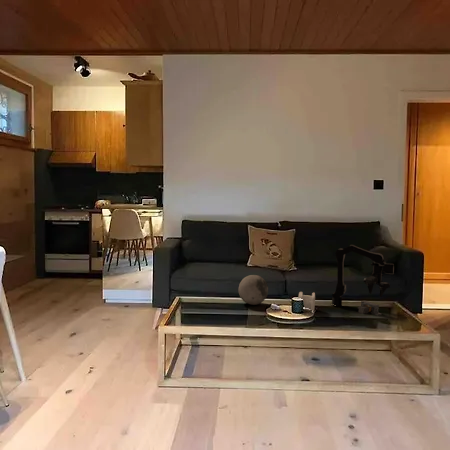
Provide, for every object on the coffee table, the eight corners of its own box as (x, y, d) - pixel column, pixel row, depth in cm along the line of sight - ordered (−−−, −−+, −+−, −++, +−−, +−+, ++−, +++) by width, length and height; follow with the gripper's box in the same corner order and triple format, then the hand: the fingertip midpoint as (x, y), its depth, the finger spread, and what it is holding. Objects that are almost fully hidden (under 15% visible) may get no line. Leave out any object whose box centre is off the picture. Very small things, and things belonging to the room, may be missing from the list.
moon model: (238, 307, 348) (240, 277, 346) (237, 299, 368) (238, 271, 366) (268, 308, 349) (270, 279, 346) (265, 301, 369) (267, 272, 366)
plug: (363, 313, 349) (363, 308, 348) (358, 312, 352) (359, 306, 352) (377, 311, 356) (378, 305, 356) (373, 309, 360) (373, 304, 359)
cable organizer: (313, 315, 339) (315, 297, 338) (297, 313, 341) (298, 295, 340) (314, 309, 354) (315, 292, 353) (298, 307, 356) (299, 290, 354)
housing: (357, 308, 361) (358, 300, 360) (361, 308, 363) (362, 299, 362) (377, 315, 346) (377, 306, 345) (381, 315, 348) (382, 306, 347)
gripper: (358, 270, 358) (356, 293, 359) (379, 276, 342) (377, 299, 343) (370, 269, 363) (368, 291, 365) (391, 275, 347) (389, 298, 349)
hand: (375, 295), depth 355 cm, fingers open, 9 cm apart
